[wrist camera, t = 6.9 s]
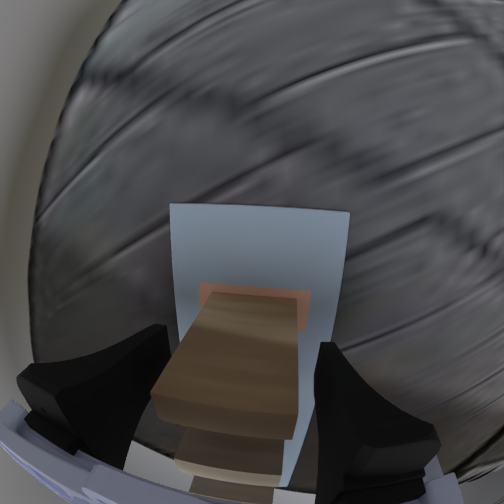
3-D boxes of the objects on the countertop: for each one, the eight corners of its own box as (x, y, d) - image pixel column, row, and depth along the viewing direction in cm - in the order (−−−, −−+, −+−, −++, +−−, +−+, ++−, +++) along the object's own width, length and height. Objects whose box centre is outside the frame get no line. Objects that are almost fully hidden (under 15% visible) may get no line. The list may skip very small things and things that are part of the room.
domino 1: (293, 321, 16) (292, 439, 8) (212, 314, 17) (158, 419, 8) (296, 298, 15) (298, 414, 7) (211, 291, 16) (149, 392, 8)
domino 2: (285, 380, 17) (278, 486, 9) (216, 373, 18) (179, 471, 10) (288, 364, 17) (281, 475, 9) (215, 356, 18) (173, 458, 9)
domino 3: (279, 421, 19) (269, 511, 11) (219, 414, 19) (192, 499, 11) (281, 409, 18) (272, 504, 10) (218, 402, 19) (188, 492, 11)
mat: (287, 484, 23) (286, 487, 23) (206, 474, 25) (206, 477, 24) (348, 211, 14) (350, 212, 14) (172, 202, 15) (169, 203, 15)
